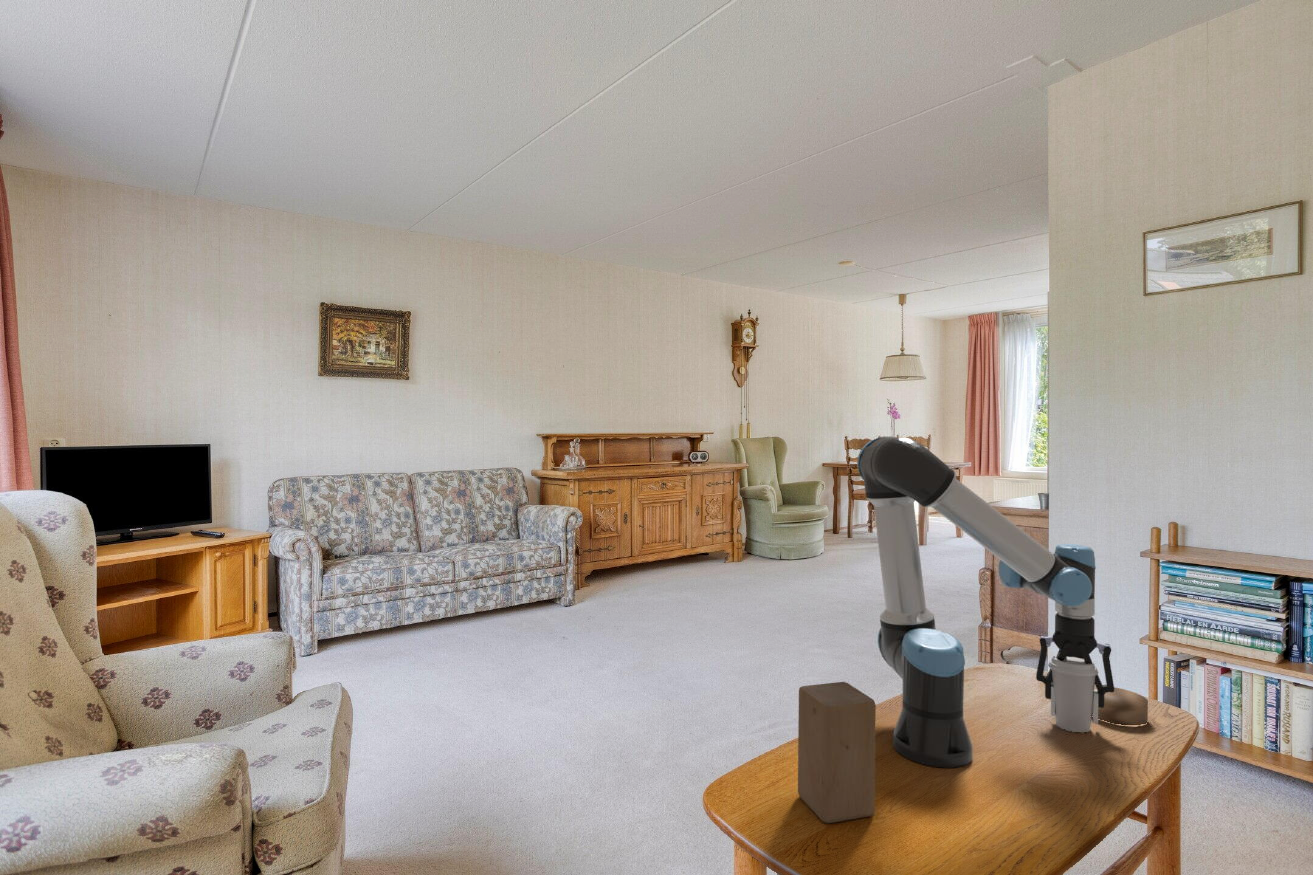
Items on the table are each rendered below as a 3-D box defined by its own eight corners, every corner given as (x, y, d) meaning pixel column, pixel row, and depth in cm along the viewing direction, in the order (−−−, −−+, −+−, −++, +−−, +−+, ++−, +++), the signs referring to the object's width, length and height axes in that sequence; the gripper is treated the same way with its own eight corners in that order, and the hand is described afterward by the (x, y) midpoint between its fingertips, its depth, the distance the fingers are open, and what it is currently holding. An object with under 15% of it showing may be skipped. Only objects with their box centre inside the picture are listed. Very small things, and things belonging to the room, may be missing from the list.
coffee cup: (1058, 714, 158) (1058, 650, 158) (1105, 728, 151) (1105, 660, 151) (1041, 725, 152) (1041, 658, 152) (1089, 740, 145) (1088, 669, 145)
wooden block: (824, 826, 112) (825, 705, 112) (795, 795, 122) (796, 684, 122) (877, 817, 115) (878, 699, 115) (844, 787, 125) (845, 679, 124)
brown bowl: (1087, 720, 155) (1087, 699, 155) (1083, 702, 166) (1083, 682, 166) (1151, 732, 149) (1151, 709, 149) (1143, 712, 160) (1143, 691, 160)
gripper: (1022, 612, 153) (1021, 713, 153) (1132, 625, 143) (1131, 733, 143) (1023, 605, 160) (1022, 702, 160) (1127, 616, 150) (1127, 720, 150)
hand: (1073, 717), depth 151 cm, fingers closed on coffee cup, 7 cm apart
